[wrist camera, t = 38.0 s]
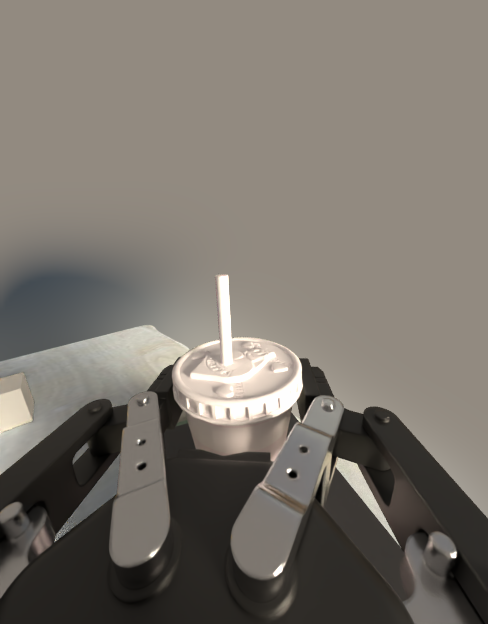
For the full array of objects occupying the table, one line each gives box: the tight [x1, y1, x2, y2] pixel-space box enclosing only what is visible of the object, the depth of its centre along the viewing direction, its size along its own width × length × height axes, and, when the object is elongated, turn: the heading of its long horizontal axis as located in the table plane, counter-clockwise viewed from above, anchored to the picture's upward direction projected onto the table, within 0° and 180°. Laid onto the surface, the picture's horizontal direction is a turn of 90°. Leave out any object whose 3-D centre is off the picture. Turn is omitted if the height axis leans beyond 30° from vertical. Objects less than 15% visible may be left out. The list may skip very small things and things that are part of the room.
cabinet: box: [164, 413, 407, 601], centre depth 16 cm, size 16×14×11 cm
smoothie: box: [172, 275, 303, 461], centre depth 12 cm, size 6×6×14 cm
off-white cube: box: [0, 372, 34, 433], centre depth 36 cm, size 6×6×6 cm
